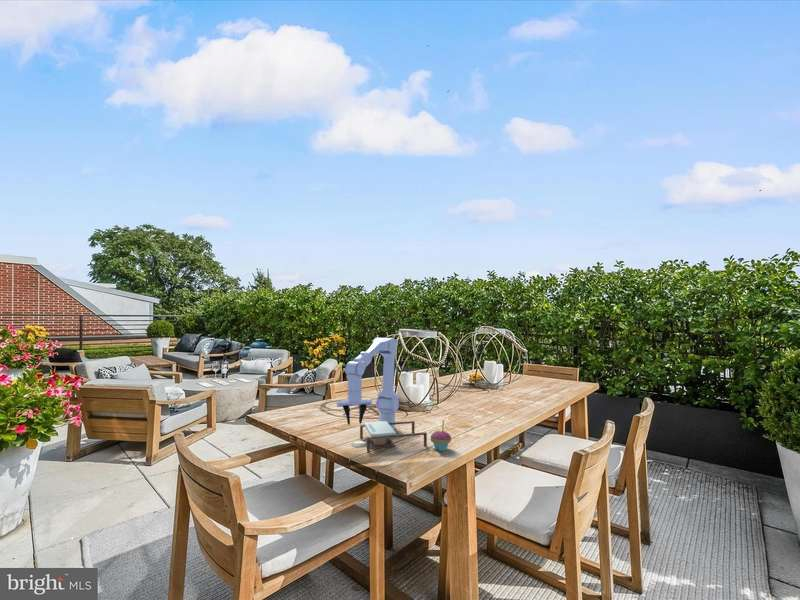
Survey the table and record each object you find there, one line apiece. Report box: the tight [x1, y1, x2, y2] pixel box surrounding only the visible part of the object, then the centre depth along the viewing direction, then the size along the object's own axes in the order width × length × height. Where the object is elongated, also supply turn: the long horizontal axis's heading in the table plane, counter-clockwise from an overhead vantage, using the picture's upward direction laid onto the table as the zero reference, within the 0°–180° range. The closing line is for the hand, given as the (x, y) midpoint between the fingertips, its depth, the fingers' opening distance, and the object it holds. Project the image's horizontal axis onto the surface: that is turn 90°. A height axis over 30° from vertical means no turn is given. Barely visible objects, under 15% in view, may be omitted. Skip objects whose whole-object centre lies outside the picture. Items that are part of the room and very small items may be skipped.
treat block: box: [373, 438, 386, 445], centre depth 164 cm, size 4×4×5 cm
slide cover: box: [363, 420, 397, 437], centre depth 164 cm, size 17×10×1 cm, turn 15°
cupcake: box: [430, 418, 452, 452], centre depth 159 cm, size 9×8×12 cm
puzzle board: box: [350, 420, 428, 452], centre depth 165 cm, size 18×30×6 cm, turn 105°
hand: (354, 423), depth 161 cm, fingers open, 4 cm apart
